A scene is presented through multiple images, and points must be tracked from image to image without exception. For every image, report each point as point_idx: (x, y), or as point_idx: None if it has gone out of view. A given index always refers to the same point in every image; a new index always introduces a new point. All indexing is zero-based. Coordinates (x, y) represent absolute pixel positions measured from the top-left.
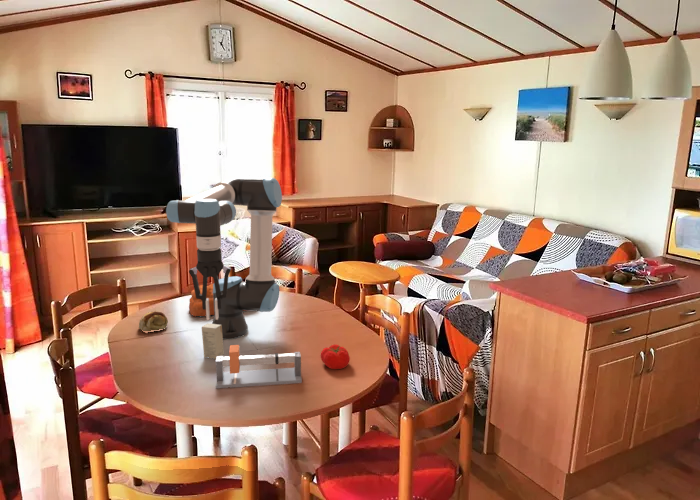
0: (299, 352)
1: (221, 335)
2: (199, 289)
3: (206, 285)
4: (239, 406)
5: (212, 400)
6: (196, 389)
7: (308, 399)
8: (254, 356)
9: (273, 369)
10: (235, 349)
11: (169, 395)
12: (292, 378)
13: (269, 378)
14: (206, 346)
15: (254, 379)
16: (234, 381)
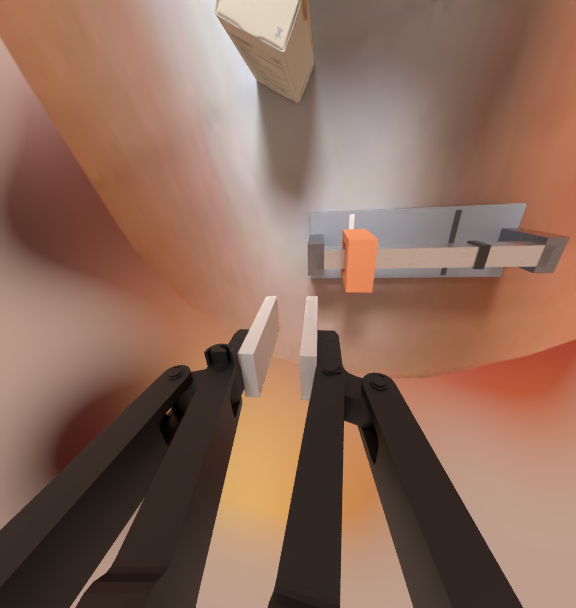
0: (564, 243)
1: (307, 28)
2: (156, 417)
3: (213, 524)
4: (354, 341)
5: None
6: (273, 275)
7: (481, 338)
8: (413, 257)
9: (449, 210)
10: (364, 275)
11: (231, 291)
12: None
13: None
14: (257, 69)
15: None
16: None
